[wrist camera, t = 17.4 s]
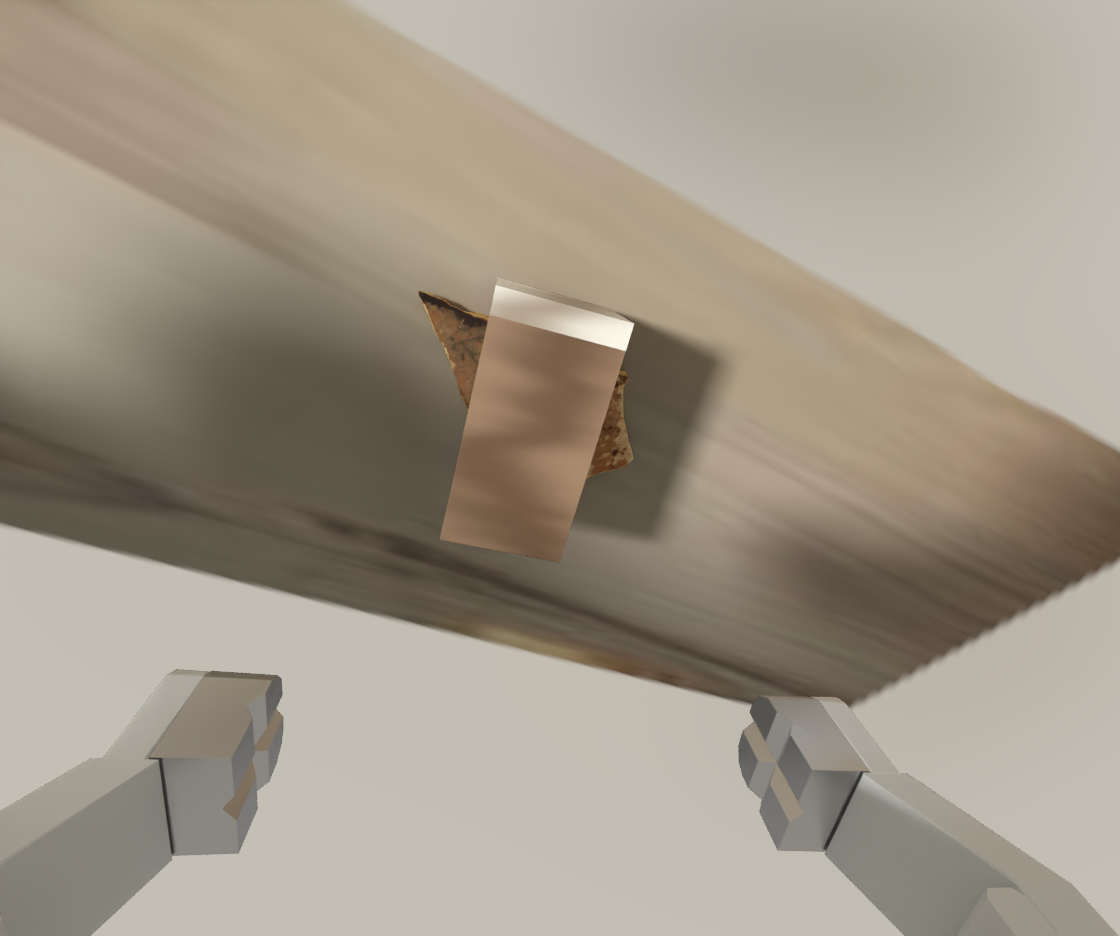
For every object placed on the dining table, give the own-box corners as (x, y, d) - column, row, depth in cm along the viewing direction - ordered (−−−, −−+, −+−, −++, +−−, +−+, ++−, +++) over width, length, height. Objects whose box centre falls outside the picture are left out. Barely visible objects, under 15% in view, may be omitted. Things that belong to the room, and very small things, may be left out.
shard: (421, 288, 25) (416, 292, 23) (582, 230, 25) (588, 229, 23) (506, 494, 29) (506, 509, 27) (644, 446, 29) (653, 458, 27)
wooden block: (439, 539, 22) (496, 285, 19) (450, 488, 27) (497, 277, 23) (559, 562, 23) (634, 323, 20) (550, 509, 28) (609, 308, 24)
